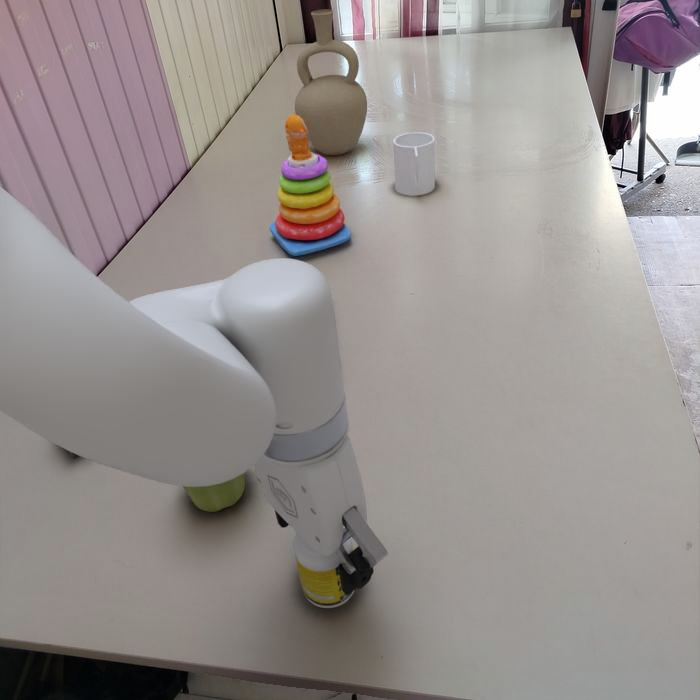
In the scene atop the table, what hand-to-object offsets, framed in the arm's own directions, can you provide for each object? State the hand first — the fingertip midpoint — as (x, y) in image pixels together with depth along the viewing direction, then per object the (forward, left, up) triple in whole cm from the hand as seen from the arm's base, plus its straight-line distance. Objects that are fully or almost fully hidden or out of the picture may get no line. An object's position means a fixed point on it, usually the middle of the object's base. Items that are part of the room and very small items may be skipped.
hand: (324, 548), depth 59 cm
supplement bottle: (0, 0, -6) cm, 6 cm away
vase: (+73, +88, -6) cm, 114 cm away
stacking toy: (+42, +57, -6) cm, 71 cm away
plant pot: (-2, +18, -6) cm, 19 cm away
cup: (+69, +57, -6) cm, 90 cm away
